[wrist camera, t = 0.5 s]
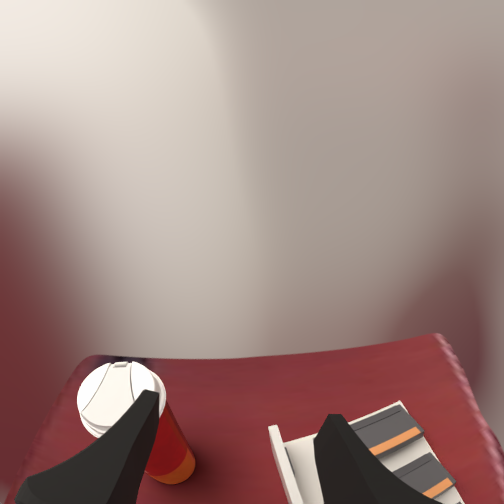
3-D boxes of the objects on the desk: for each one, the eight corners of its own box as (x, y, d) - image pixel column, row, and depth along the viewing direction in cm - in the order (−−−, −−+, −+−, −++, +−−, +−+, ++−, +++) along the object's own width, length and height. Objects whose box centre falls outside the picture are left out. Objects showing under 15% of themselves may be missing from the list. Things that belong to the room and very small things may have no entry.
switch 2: (453, 486, 15) (456, 481, 14) (355, 539, 13) (357, 535, 13) (427, 457, 20) (430, 451, 19) (336, 500, 18) (336, 495, 18)
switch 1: (422, 436, 21) (424, 429, 21) (330, 478, 20) (330, 472, 19) (398, 410, 26) (399, 403, 26) (313, 443, 24) (312, 437, 24)
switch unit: (476, 540, 9) (509, 526, 6) (329, 615, 7) (338, 626, 5) (397, 407, 28) (410, 376, 25) (272, 451, 26) (268, 426, 23)
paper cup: (141, 436, 28) (85, 358, 22) (204, 433, 29) (164, 352, 22) (137, 492, 21) (61, 430, 15) (207, 493, 22) (156, 435, 15)
